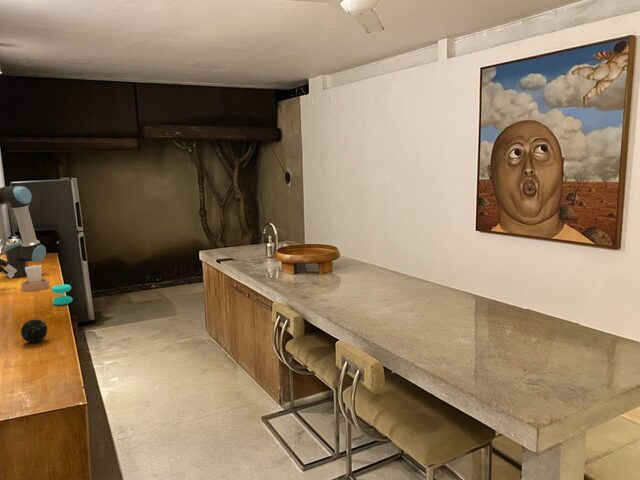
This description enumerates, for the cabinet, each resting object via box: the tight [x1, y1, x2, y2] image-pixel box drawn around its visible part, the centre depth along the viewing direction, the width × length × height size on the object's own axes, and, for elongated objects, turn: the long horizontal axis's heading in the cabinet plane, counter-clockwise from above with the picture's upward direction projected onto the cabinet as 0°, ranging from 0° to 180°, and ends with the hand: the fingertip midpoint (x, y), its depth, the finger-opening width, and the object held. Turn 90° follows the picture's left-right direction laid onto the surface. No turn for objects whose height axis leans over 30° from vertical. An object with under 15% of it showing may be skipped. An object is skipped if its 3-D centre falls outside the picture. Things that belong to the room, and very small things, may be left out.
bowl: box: [21, 278, 50, 292], centre depth 314 cm, size 15×15×4 cm
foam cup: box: [25, 264, 43, 284], centre depth 313 cm, size 10×9×13 cm
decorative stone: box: [20, 319, 48, 344], centre depth 216 cm, size 10×10×10 cm
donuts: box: [50, 283, 74, 306], centre depth 277 cm, size 10×10×10 cm
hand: (14, 274), depth 309 cm, fingers open, 13 cm apart
